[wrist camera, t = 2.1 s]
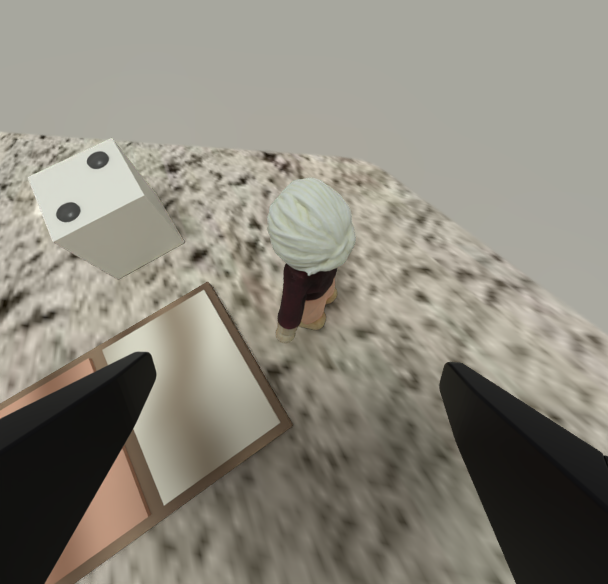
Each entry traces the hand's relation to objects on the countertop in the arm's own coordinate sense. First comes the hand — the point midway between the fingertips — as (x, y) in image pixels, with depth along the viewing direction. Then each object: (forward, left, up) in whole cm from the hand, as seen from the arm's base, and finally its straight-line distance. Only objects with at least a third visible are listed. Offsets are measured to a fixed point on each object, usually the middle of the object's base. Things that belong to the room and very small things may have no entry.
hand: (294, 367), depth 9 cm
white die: (+18, -3, -12) cm, 22 cm away
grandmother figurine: (+2, -5, -12) cm, 13 cm away
